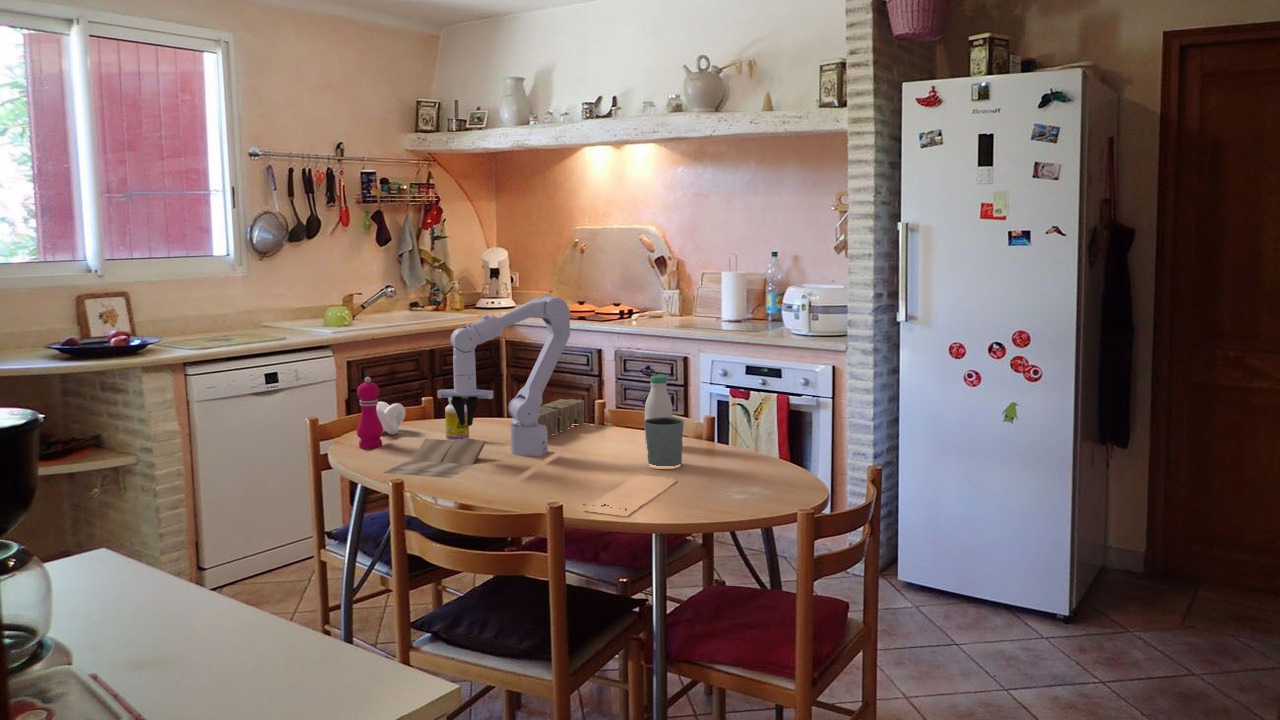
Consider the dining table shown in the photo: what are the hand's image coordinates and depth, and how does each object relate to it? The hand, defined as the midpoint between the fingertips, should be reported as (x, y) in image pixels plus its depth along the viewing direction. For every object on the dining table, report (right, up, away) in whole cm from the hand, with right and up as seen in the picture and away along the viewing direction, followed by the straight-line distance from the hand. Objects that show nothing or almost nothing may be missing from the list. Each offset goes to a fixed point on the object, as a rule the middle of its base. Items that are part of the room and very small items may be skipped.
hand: (466, 425), depth 271 cm
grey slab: (-8, -12, -9) cm, 17 cm away
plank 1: (-9, -8, +2) cm, 12 cm away
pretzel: (-31, -5, +36) cm, 48 cm away
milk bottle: (+51, -7, +17) cm, 54 cm away
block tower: (+19, -5, +37) cm, 42 cm away
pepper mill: (-30, -8, +19) cm, 36 cm away
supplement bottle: (-7, -6, +26) cm, 28 cm away
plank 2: (0, -8, 0) cm, 8 cm away
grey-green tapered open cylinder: (+52, -11, -3) cm, 53 cm away
